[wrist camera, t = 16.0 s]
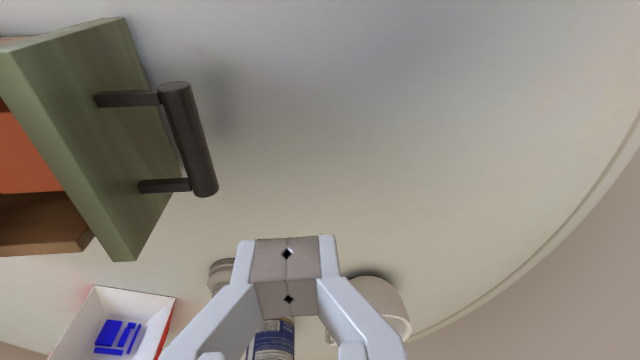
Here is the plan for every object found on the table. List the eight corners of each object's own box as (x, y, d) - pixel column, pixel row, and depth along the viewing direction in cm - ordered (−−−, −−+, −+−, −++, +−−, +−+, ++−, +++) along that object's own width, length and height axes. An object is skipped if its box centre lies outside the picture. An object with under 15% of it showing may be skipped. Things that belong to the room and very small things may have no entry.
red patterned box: (94, 323, 34) (48, 406, 28) (93, 284, 30) (38, 371, 24) (168, 333, 36) (140, 411, 30) (176, 298, 32) (146, 380, 26)
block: (13, 82, 16) (-67, 115, 13) (95, 79, 16) (39, 110, 13) (57, 151, 19) (1, 194, 15) (127, 148, 19) (88, 190, 15)
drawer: (204, 14, 16) (143, 46, 10) (239, 172, 22) (216, 256, 16) (-123, 25, 15) (-421, 66, 9) (7, 185, 21) (-114, 277, 15)
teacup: (368, 255, 30) (381, 304, 26) (410, 284, 33) (427, 332, 29) (301, 298, 34) (301, 347, 29) (345, 320, 37) (351, 367, 33)
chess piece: (262, 277, 31) (249, 387, 23) (226, 289, 32) (202, 399, 24) (238, 252, 28) (215, 366, 20) (200, 266, 29) (164, 380, 21)
